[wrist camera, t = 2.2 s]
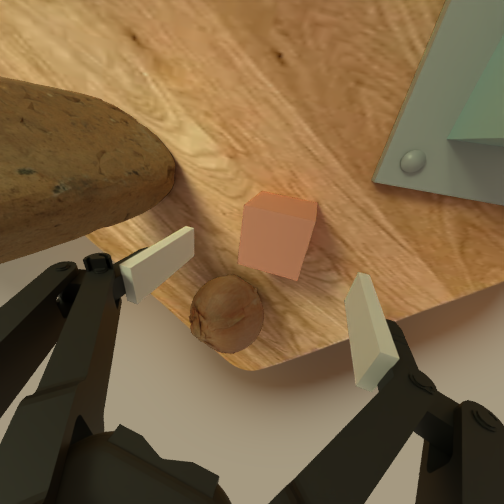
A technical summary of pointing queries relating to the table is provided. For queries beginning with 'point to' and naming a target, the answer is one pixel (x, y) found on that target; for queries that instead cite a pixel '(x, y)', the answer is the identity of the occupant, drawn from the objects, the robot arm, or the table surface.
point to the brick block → (276, 233)
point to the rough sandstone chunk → (71, 167)
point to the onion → (226, 314)
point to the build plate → (454, 110)
